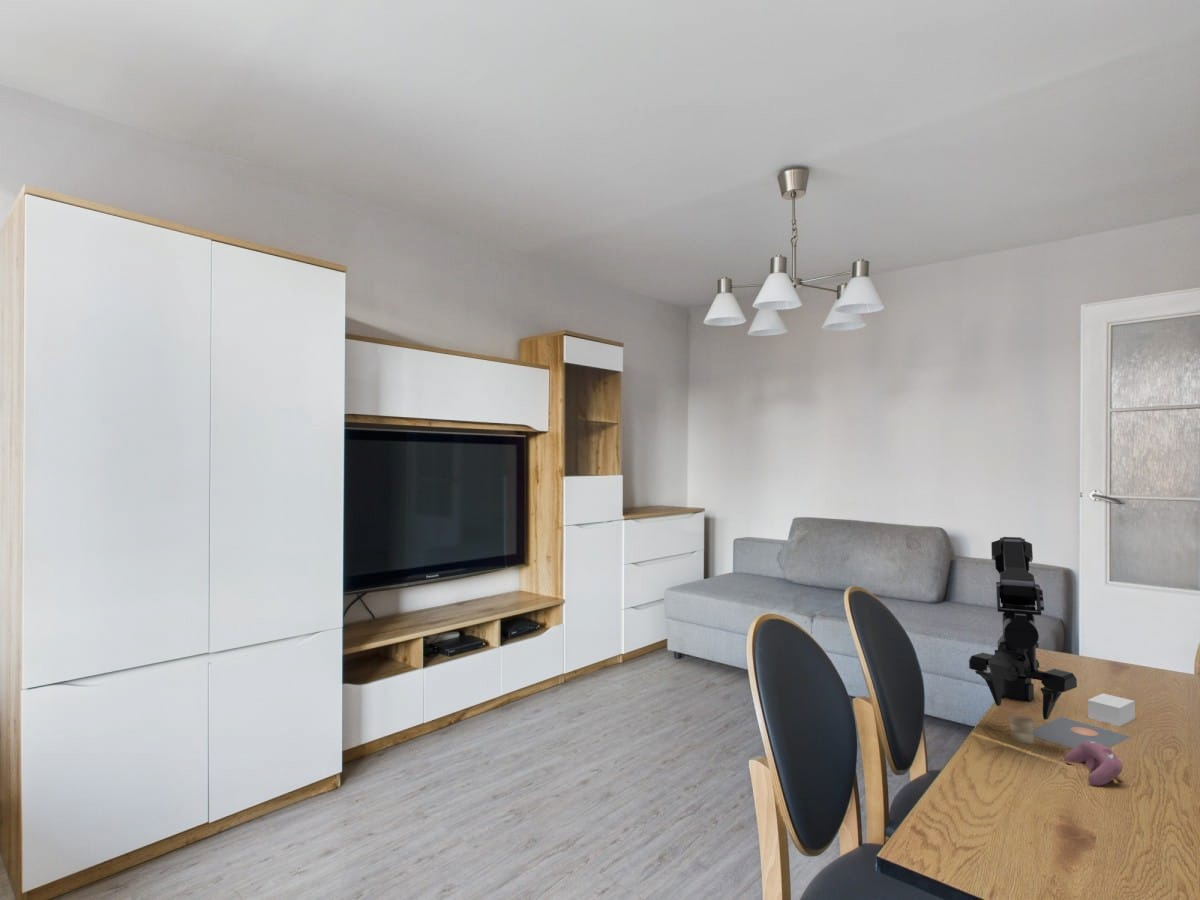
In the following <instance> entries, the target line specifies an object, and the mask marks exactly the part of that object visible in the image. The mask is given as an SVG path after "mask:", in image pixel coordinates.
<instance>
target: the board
mask: <svg viewBox="0 0 1200 900" xmlns="http://www.w3.org/2000/svg"><path fill="white" fill-rule="evenodd" d="M1033 730H1034V738H1037V739H1040V740H1043V741H1045V742H1049V743H1051V744H1055V745H1058V746H1062V747H1066V748H1068V749H1071V750H1073V749H1075V748H1076V747H1077V746H1079V745H1080V744H1081V743H1082V742H1086V741H1087V740H1089V741H1091V742H1092V741H1093V742H1097V743H1100V744H1103V745H1105V746H1107V747H1108V748H1110V749H1111V748H1112V747H1114V746H1116V745H1118V744H1119V743H1122V742H1124V741H1126V740H1127V739H1130V738H1131V737H1132V736H1130V735H1126V734H1123V733H1119V732H1117V731H1116V732H1115V731H1112V730H1110V729H1105V728H1101V727H1098V726H1094V725H1090V724H1087V723H1084V722H1080V721H1077V720H1074V719H1069V718H1066V717H1063V716H1060V717H1058V718H1056V719H1054V720H1052V721H1049V722H1046V723H1044V724H1042V725H1040V726H1037V727H1033Z"/></svg>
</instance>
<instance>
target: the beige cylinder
mask: <svg viewBox="0 0 1200 900" xmlns="http://www.w3.org/2000/svg"><path fill="white" fill-rule="evenodd" d="M1009 719H1010V739H1011V740H1012V741H1015V742H1017V743H1021V744H1033V743H1034V742H1035V739H1034V738H1035V737H1034V730H1033V729H1034V720H1033V719H1031V718H1030V717H1026V716H1022V715H1011V716H1010V718H1009Z"/></svg>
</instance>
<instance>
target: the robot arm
mask: <svg viewBox="0 0 1200 900" xmlns="http://www.w3.org/2000/svg"><path fill="white" fill-rule="evenodd" d="M990 545H991V546H990V547H991V549H990V550H991V560H992V561H994V564H995V569H996V571H997V573H998V574H999V581H996V582H995V583H996V585H995V587H996V588H995V589H996V592H995V593H996V606H997V607H996V610H997V613H998V612H999V613H1002V616H1001V617H1002V635H1001V636H1000V638H998V640H997V643H996V644H997V649H994V654H991V653H986V652H981V653H980V652H979V653H977V654H974V655H971V656H970V657H969V660H968V669H970V670H974V671H975V674H976V675H979V676H980V677H981V678H982V679H984V681H985V683H986V684H987V686H988V689H989V691H990V694H991V696H992V698H993V701H994V703H995V705H996V706H997V707H1000V706H1002V701H1003V699H1009V700H1013V701H1019V702H1027V703H1030V702H1032V701H1033V702H1034V701H1035V690H1034V689H1035V688H1034V686H1035V685H1034V683H1032V680H1038V681H1040V682H1041V684H1042V685H1043V687H1041V688H1039V689H1040V691H1041V694H1042V717H1043V720H1045V721H1046V720H1048V719H1049V717H1050V715H1051V714H1052V711H1053V709H1054V707H1055V704H1056V703H1057V701H1058V700H1059V697H1060V696H1062V693H1064V692H1068V691H1071V690H1073V689H1076V688H1078V681H1077V677H1076V676H1075V674H1074V673H1073V672H1071V671H1066V670H1061V669H1056V668H1052V669H1049V670H1047V671H1042V670H1039V668H1040V662H1039V660H1038V658H1037V650H1036V649H1038V648H1039V642H1038V641H1039V631H1038V628H1037V626H1036V624H1035V622H1036V621H1035V620H1036V619H1035V616H1042V611H1045V603H1044V594H1043V593H1044V591H1043V589H1042V588H1041V586H1040V585H1039V584H1036V581H1035V577H1034V574H1032V573H1030V572H1029V571H1030V563H1033V561H1034V560H1033V557H1034V556H1033V544H1032V543H1031V542H1028V541H1026V539H1025V538H1022V537H1018V536H1017V537H1015V536H1003V537H999V539H998V540H994V541H991V543H990ZM1001 605H1002V606H1001ZM1034 615H1035V616H1034Z"/></svg>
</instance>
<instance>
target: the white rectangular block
mask: <svg viewBox="0 0 1200 900" xmlns="http://www.w3.org/2000/svg"><path fill="white" fill-rule="evenodd" d="M1135 708H1136V706H1135V700H1132V699H1128V698H1124V697H1119V696H1115V695H1111V694H1107V693H1100V694H1098V695H1096V696H1094V697H1091V698H1089V699H1087V716H1088V717H1087V718H1088V719H1092V720H1094V721H1099V722H1102V723H1105V724H1109V725H1113V726H1116V727H1122V726H1125V725H1127V724H1128V723H1130V722H1132V721H1134V720H1136V711H1135V710H1136V709H1135Z"/></svg>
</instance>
